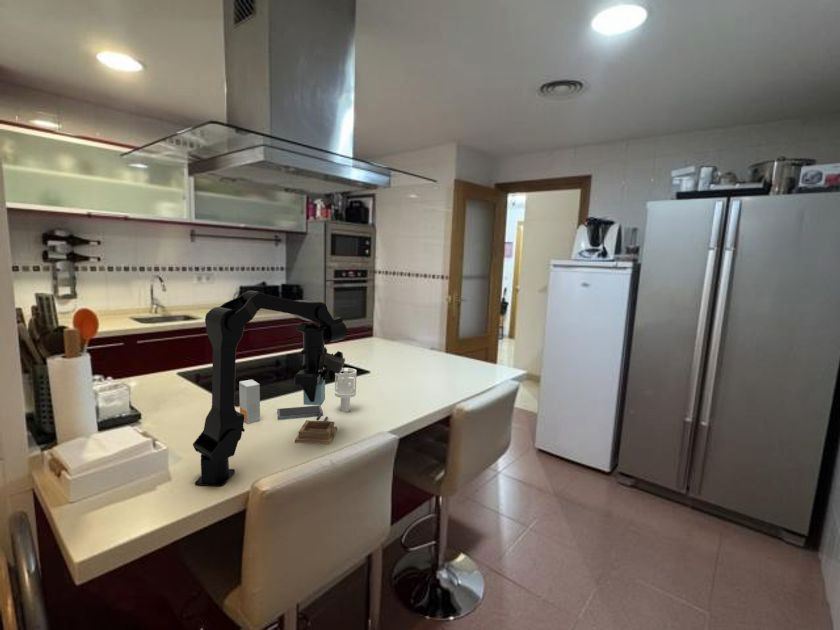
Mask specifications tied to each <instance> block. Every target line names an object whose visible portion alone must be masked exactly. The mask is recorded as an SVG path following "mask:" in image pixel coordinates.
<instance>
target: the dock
mask: <svg viewBox="0 0 840 630" xmlns="http://www.w3.org/2000/svg"><path fill="white" fill-rule="evenodd" d="M335 424H336V423H335V421H329V420H328V421H327V420H326V421H324V420H305V421H304V423H303V425H302V426H301V428H300V429H299V430H298V433H297V434H298V435H297V436H296V437H295V439H294V443H295V444H297V443H298V444H317V445H331V444H332V441H333V439H334V438H335V435H336V433H337V431H338V426H335Z"/></svg>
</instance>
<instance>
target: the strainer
mask: <svg viewBox="0 0 840 630" xmlns="http://www.w3.org/2000/svg"><path fill="white" fill-rule="evenodd" d="M342 372H343V373H342ZM356 395H357V369H355V368H351V367H343V368H342V370H341V371H340V373H335V372H334V396H335V397H336V398H340V412H343V413H346V412H349V411H351V409H350V408H351V407H350V406H351V405H350V404H351V398H355V396H356Z"/></svg>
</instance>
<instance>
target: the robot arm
mask: <svg viewBox="0 0 840 630" xmlns="http://www.w3.org/2000/svg"><path fill="white" fill-rule="evenodd" d="M260 309H264V310H268V311H275V312H279V313H285V314H290V315H292V316H293V317H295V318H298V319H301V320H303V321H306V322H303V321H302V322H301V323H300V325H298V326H297V327H296V328H295V330H296V332H301V333H302V343H303V344H302V346H303V349H302V350H301V351H300V353H301V355H303V357H302V359H303V363H302V364H301V369H300V370H299V371H298V372H297V373H296V374H295V375H294V376H293V384H294V385H296V386H298V385H299V386H301V388H302V390H303V389H304V391H305V393H306V395H307V397H308V398H309V400H310V402H314V400H315V395H316V388H317V385H318V384H319V383H320V382H321V380H324V379H323V378H324V377H325V375H326V374H328V372H329V371H331V372H333V373H334V374H335V373H341V372H340V371H341V370H342V368H344V366H345V362H346V358H345V357H344V355H343V352H342V351H339V350H337V352H335V353H329V352H328V348H327V347H326V346H325V344H326V343H327V344H329V343H333V342H338V341H342V340H345V339H346V338H347V336H348V328H347V326H346V324H345V323H344V322H343V317H338V316H335V317H333V316H332V314H331V313H330V312H329V310H328V307H327V304H326V303H325V302H322V301H316V300H309V299H298V300H294V299H290V298H289V299H288V298H284V297H279V296H275V295H271V294H267V293H266V294H265V293H264V292H261V291H256V290H246V291H245V292H243V293H242V294H240V295H239V296H237V297H235V298H233V299H231V300H228V301H226V302H224V303H223V304H221V305H220V306H215V307H213V308H212V309H210V310H209V311H208V312H207V313H206V314H205V317H204V322H205V323H204V324H205V329H206V335H207V337H208V339H209V341H210V345H212V370H211V371H212V374H211V375H212V376H211V377H212V382H211V383H212V385H211V387H212V389H211V390H212V391H211V408H210V410H209V412H208V413H207V415H206V417H205V420H204V427H203V431H202V432H201V433H200V434H199V436H198V437H197V438H196V439H195V441H194V442H193V443H192V447H193V449H194V450H195V452H197V453H199V454H200V474H201V475H200V476H199V477H198V478H197V480H196V481H194V485H195V486H213V487H214V486H217V487H222V486H225V484H227V482H228V480H230V478H231V477H232V476H233V475H234V474H235V472H236V469H234V468H230V464H229V463H230V460H229V458H231V457H234V456H235V454H236V450H237V447H238V443H239V441H241V439H242V436H243V435H242V434H243V432H245V427H244V423H245V421H244V415H243V414H241V413H240V411H237V410H236V406H235V404H236V403H235V401H236V367H237V366H236V361H237V359H236V358H237V354H236V353H237V347H238V345H239V343H240V341H241V339H242V338H243V334H244V329H245V326H246V325H247V324H248V323H249V322H251V321H252V320H253V319H254V318H255V316H256V314H257V313H258V311H260ZM308 322H312V323H310V324H309V323H308Z"/></svg>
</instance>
